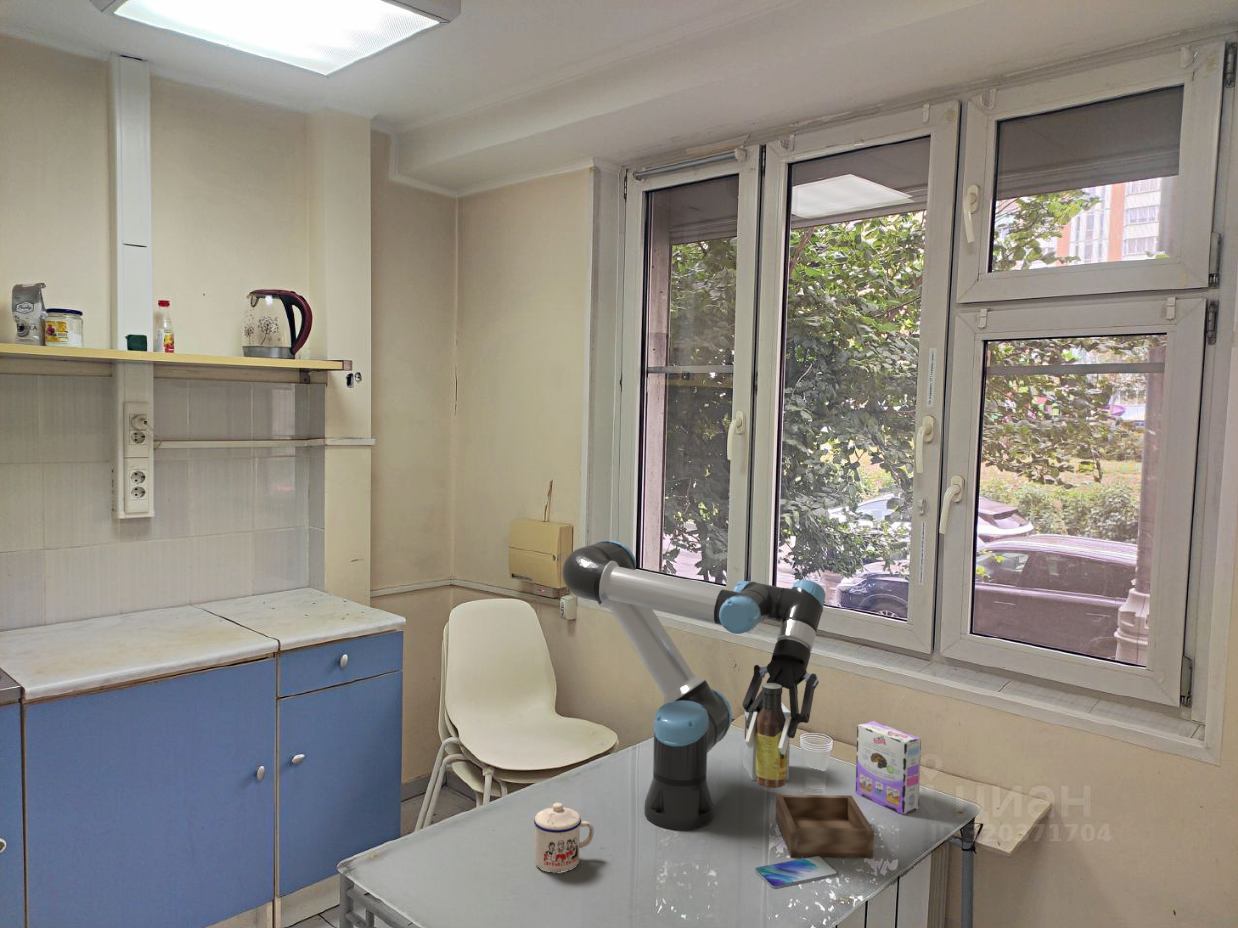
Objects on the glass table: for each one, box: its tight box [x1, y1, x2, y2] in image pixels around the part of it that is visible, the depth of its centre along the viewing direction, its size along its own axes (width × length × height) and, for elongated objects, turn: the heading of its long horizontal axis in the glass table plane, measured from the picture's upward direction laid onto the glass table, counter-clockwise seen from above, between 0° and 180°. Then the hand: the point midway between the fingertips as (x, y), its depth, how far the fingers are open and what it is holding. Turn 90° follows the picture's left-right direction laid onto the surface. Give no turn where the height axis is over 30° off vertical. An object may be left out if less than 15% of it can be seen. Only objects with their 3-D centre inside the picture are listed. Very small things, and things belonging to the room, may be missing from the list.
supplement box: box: [742, 701, 791, 782], centre depth 217 cm, size 10×9×17 cm
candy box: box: [854, 720, 922, 815], centre depth 202 cm, size 14×6×16 cm, turn 34°
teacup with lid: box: [533, 802, 595, 872], centre depth 173 cm, size 12×9×12 cm
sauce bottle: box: [755, 682, 787, 789], centre depth 179 cm, size 7×6×20 cm
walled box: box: [774, 794, 875, 859], centre depth 185 cm, size 16×16×6 cm
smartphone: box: [754, 856, 840, 890], centre depth 171 cm, size 7×1×15 cm
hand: (765, 747), depth 176 cm, fingers closed on sauce bottle, 6 cm apart
